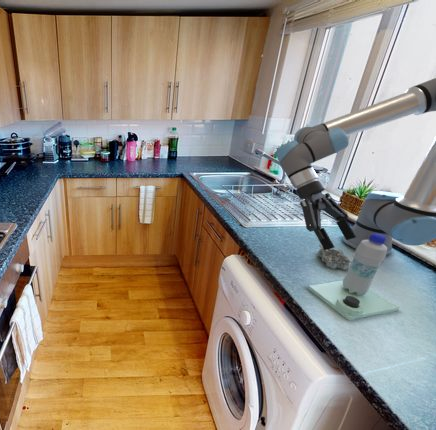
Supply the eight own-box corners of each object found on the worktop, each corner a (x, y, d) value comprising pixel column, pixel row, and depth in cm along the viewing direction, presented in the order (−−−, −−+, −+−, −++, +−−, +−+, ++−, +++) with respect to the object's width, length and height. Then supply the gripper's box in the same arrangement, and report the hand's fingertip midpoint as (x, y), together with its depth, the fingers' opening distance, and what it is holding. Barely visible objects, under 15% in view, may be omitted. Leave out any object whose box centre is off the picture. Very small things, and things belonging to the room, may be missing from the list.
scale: (351, 281, 96) (355, 274, 95) (397, 311, 83) (402, 303, 82) (307, 288, 92) (310, 281, 91) (348, 320, 80) (352, 312, 78)
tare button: (349, 299, 84) (351, 295, 83) (360, 307, 81) (362, 302, 80) (340, 301, 83) (343, 296, 82) (351, 309, 80) (353, 304, 79)
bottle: (369, 292, 89) (397, 236, 81) (362, 300, 85) (391, 242, 77) (344, 281, 94) (368, 227, 86) (336, 288, 90) (360, 233, 82)
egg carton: (314, 253, 112) (318, 244, 110) (336, 255, 110) (340, 246, 109) (326, 268, 102) (330, 258, 101) (350, 271, 101) (354, 261, 99)
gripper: (316, 184, 105) (347, 238, 99) (274, 195, 93) (307, 256, 88) (337, 174, 98) (372, 231, 93) (295, 184, 87) (332, 250, 81)
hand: (340, 243), depth 90 cm, fingers open, 13 cm apart
